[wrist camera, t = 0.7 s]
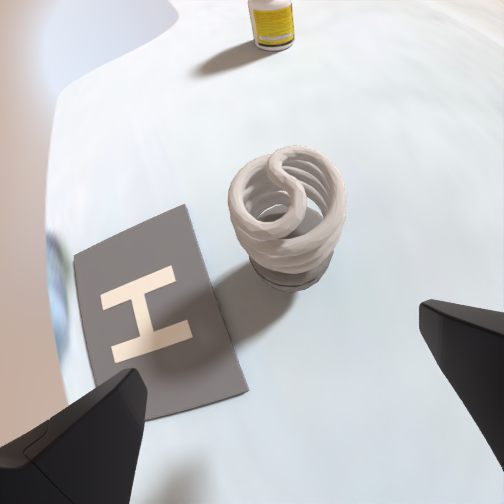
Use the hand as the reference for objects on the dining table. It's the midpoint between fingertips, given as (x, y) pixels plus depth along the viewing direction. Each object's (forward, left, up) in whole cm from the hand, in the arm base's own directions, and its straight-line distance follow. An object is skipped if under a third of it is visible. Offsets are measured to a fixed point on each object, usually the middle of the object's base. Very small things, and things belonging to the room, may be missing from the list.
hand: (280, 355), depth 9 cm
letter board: (0, +12, -14) cm, 18 cm away
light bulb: (+7, +2, -14) cm, 15 cm away
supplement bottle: (+37, +11, -14) cm, 41 cm away
